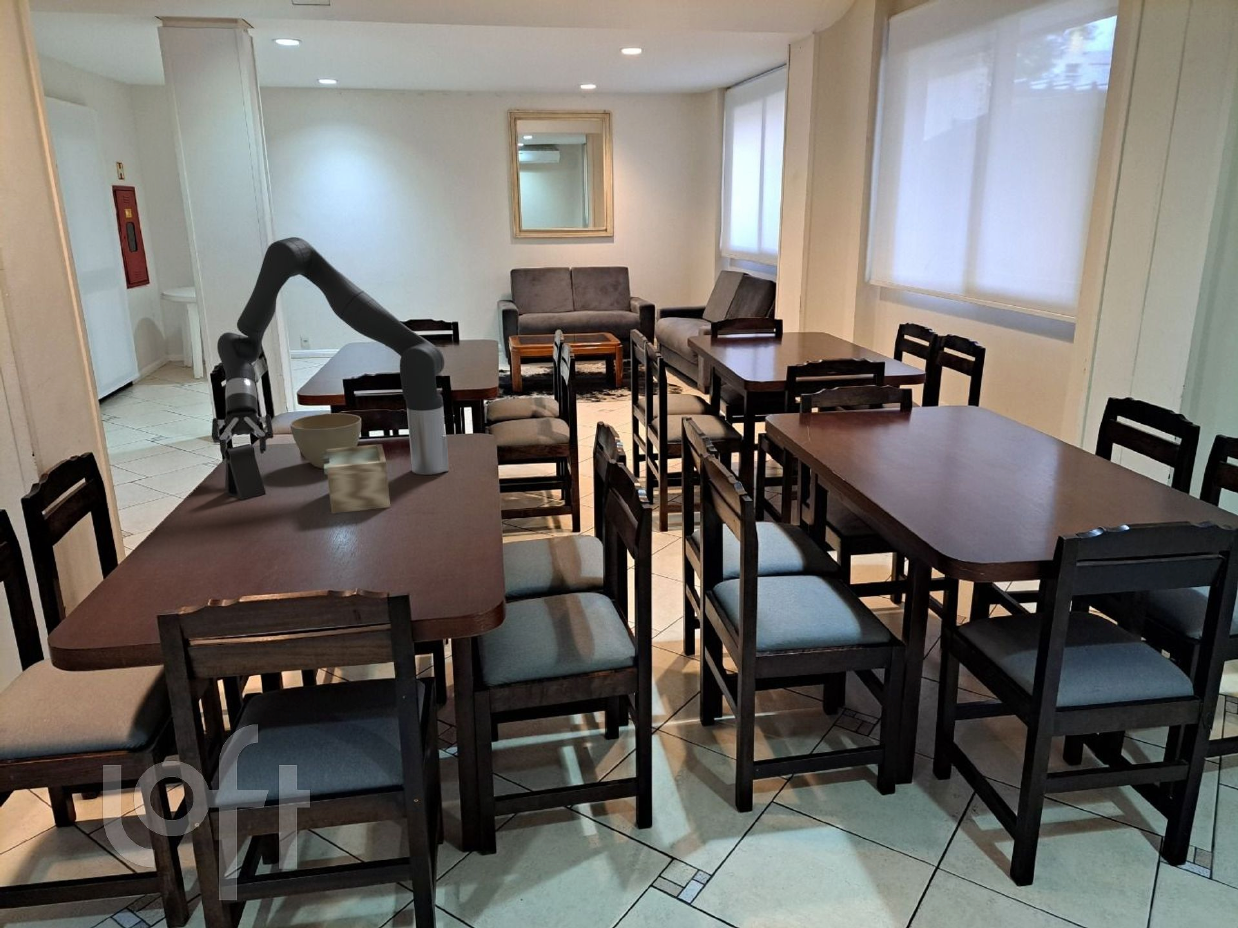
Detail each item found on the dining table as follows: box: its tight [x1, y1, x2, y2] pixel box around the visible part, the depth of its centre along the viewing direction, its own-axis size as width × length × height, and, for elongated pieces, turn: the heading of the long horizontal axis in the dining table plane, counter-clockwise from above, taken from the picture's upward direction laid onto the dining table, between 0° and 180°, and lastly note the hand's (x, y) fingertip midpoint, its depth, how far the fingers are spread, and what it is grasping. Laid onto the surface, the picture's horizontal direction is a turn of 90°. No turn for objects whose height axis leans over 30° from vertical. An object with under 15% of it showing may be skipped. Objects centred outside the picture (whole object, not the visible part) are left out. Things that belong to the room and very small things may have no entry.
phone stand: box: [224, 443, 267, 501], centre depth 208 cm, size 9×6×12 cm, turn 48°
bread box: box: [323, 443, 391, 514], centre depth 203 cm, size 14×16×12 cm
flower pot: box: [289, 413, 362, 469], centre depth 231 cm, size 18×18×12 cm
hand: (243, 453), depth 215 cm, fingers open, 8 cm apart
